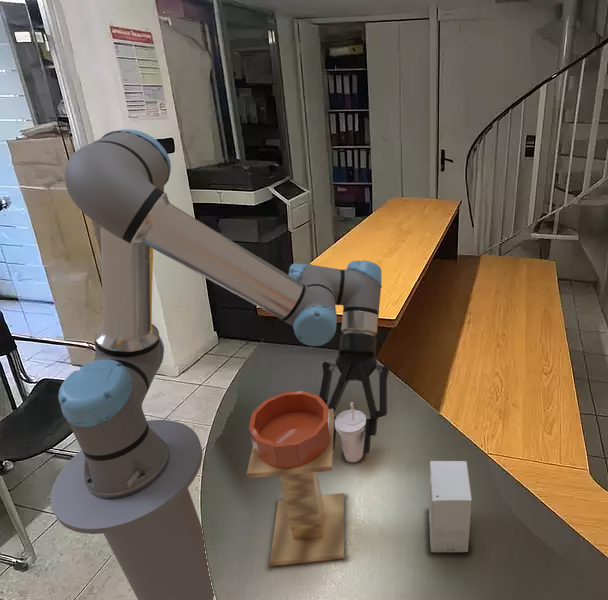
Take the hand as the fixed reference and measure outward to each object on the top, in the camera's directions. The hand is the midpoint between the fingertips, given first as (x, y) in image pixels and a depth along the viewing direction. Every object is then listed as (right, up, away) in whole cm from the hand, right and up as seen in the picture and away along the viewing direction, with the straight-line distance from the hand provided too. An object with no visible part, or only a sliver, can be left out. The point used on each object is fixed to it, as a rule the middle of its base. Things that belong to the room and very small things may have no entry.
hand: (348, 451), depth 94 cm
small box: (+18, -11, -10) cm, 23 cm away
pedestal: (-6, -11, -9) cm, 15 cm away
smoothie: (+1, -3, +6) cm, 6 cm away
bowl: (-6, +8, -20) cm, 22 cm away
